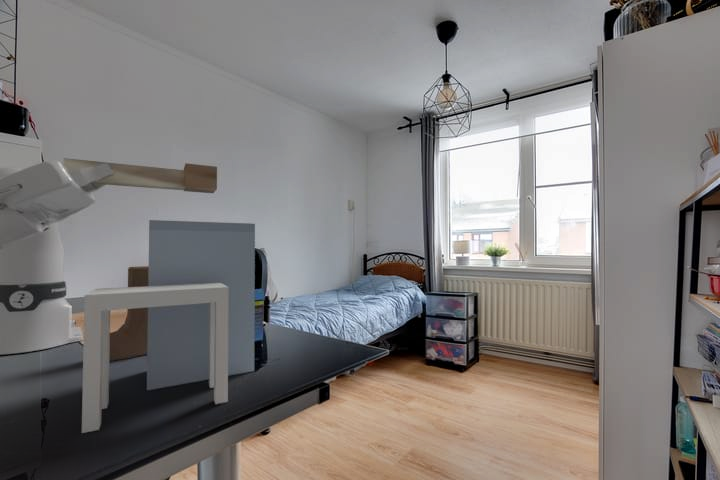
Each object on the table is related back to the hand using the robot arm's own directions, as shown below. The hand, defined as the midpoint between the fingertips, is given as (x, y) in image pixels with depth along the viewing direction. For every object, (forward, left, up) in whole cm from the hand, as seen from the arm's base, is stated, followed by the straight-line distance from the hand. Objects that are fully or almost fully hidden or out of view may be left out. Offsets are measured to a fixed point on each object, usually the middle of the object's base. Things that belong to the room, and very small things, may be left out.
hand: (112, 171), depth 54 cm
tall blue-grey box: (0, +13, -34) cm, 37 cm away
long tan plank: (0, +5, -2) cm, 5 cm away
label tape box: (-15, +23, -34) cm, 44 cm away
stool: (+12, +7, -34) cm, 37 cm away
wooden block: (-17, +1, -34) cm, 38 cm away
